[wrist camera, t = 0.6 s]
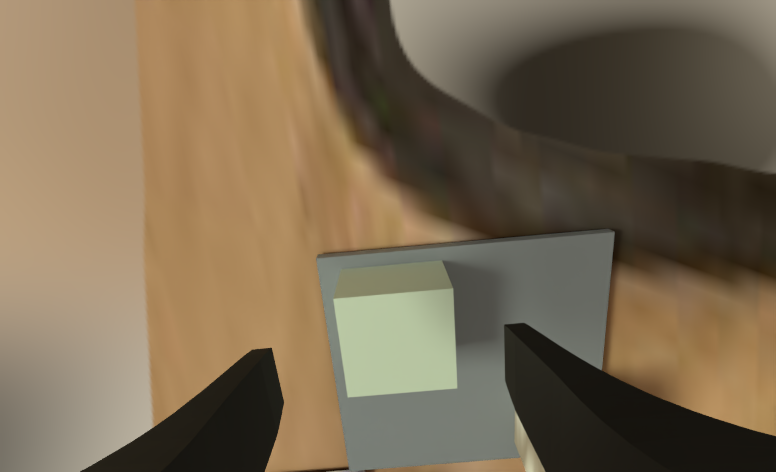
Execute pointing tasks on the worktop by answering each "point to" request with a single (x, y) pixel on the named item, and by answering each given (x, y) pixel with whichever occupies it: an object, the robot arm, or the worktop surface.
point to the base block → (396, 328)
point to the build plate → (475, 342)
